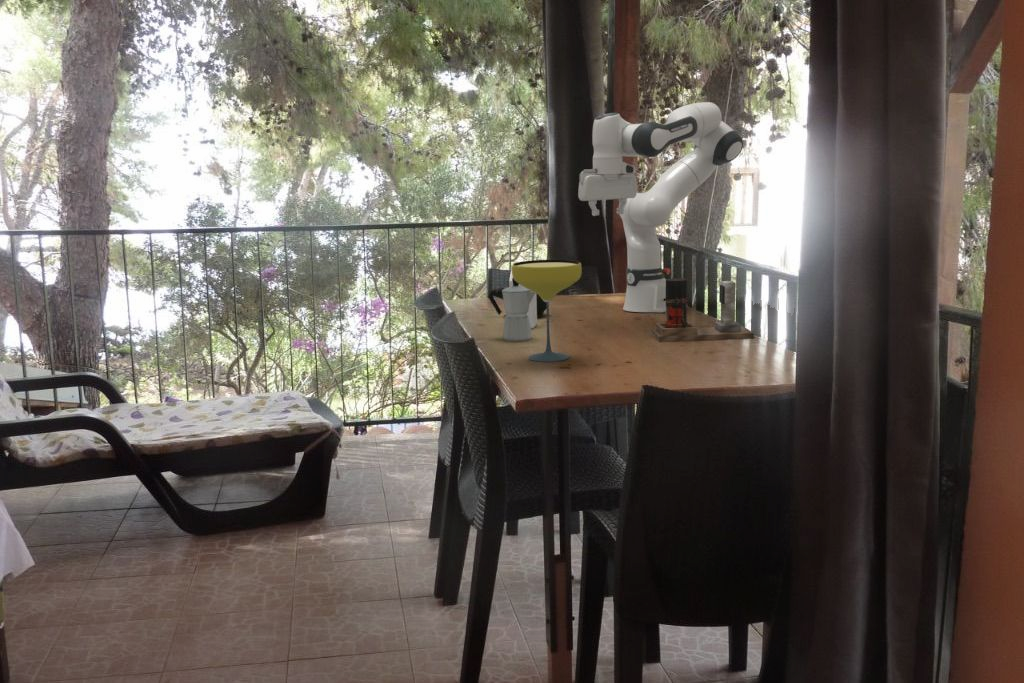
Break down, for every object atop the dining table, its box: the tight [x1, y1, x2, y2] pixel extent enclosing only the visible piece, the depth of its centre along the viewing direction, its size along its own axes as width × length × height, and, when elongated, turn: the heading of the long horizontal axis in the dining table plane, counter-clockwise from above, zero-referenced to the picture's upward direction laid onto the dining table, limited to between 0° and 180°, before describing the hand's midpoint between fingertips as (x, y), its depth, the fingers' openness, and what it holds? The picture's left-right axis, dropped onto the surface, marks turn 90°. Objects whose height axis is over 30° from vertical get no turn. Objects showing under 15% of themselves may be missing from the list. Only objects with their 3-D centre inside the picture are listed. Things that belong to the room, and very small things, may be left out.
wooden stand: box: [651, 280, 755, 343], centre depth 276 cm, size 27×11×16 cm, turn 92°
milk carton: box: [508, 266, 538, 329], centre depth 300 cm, size 7×7×19 cm
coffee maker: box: [488, 278, 535, 342], centre depth 281 cm, size 15×9×18 cm, turn 71°
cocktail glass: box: [512, 259, 583, 363], centre depth 253 cm, size 18×18×25 cm
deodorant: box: [665, 277, 688, 328], centre depth 276 cm, size 6×6×15 cm
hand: (608, 214), depth 293 cm, fingers open, 8 cm apart
